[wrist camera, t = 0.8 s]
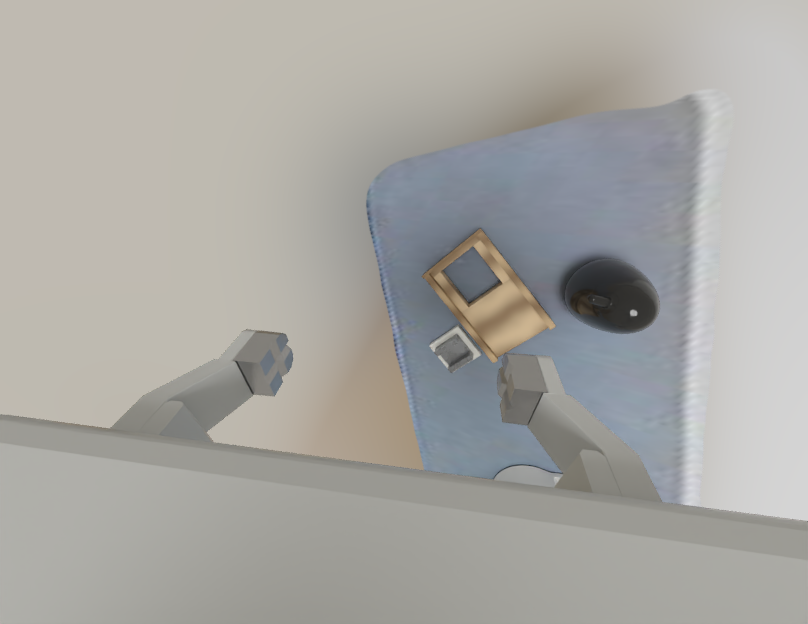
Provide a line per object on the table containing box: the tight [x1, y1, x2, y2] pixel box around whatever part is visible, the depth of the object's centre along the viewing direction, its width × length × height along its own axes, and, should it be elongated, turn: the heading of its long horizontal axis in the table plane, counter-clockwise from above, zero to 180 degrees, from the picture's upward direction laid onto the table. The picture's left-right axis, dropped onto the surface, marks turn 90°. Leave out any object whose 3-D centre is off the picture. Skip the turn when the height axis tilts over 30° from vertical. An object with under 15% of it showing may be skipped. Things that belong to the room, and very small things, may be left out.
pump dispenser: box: [565, 259, 660, 334], centre depth 40 cm, size 10×10×15 cm
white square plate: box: [429, 324, 481, 372], centre depth 56 cm, size 7×7×1 cm
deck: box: [422, 228, 556, 363], centre depth 50 cm, size 20×12×4 cm, turn 41°
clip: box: [434, 334, 473, 373], centre depth 54 cm, size 5×5×2 cm
